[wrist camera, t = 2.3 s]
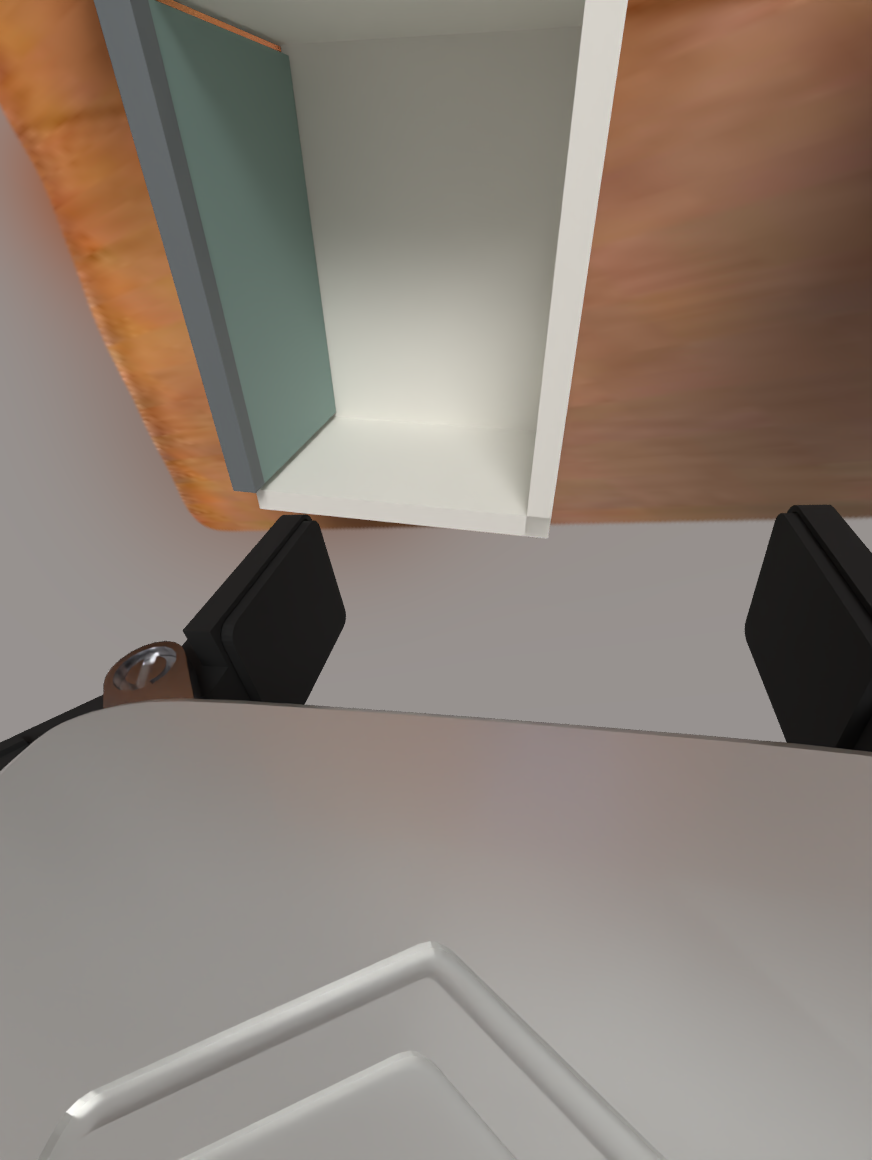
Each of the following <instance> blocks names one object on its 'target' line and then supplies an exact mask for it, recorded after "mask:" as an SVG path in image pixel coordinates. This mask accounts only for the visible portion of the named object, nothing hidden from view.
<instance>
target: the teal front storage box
mask: <svg viewBox="0 0 872 1160" xmlns="http://www.w3.org/2000/svg"><path fill="white" fill-rule="evenodd" d="M174 1H176V2H178V3H181V4H183V5H185V6H188V7H190V8H192V9H195V10H197V11H199V12H201V13H204V14H206V15H208V16H211V17H213V18H215V19H218V20H220V21H222V22H225V23H227V24H229V25H232V26H234V27H236V28H239V29H241V30H243V31H245V32H248V33H250V34H252V35H255V36H257V37H259V38H262V39H264V40H266V41H269V42H271V43H273V44H276V45H278V46H280V47H281V52H282V53H284V54H286V55H289V61H290V69H291V76H292V84H293V91H294V99H295V106H296V114H297V121H298V129H299V136H300V144H301V151H302V159H303V167H304V174H305V182H306V189H307V197H308V204H309V212H310V219H311V227H312V234H313V242H314V249H315V257H316V264H317V272H318V279H319V287H320V294H321V302H322V309H323V317H324V324H325V332H326V339H327V347H328V354H329V362H330V369H331V377H332V385H333V392H334V400H335V407H336V413H335V414H334V415H333V416H332V417H331V418H330V419H329V420H328V421H327V422H326V423H325V424H324V425H323V426H322V427H321V428H320V429H319V430H318V431H317V432H316V433H315V434H314V435H313V436H312V437H311V438H310V439H309V440H308V441H307V442H306V443H305V444H304V445H303V446H302V447H301V448H300V449H299V450H298V451H297V452H296V453H295V454H294V455H293V456H292V457H291V458H290V459H289V460H288V461H287V462H286V463H285V464H284V465H283V466H282V467H281V468H280V469H279V470H278V471H277V472H276V473H275V474H274V475H273V476H272V477H271V478H270V479H269V480H268V481H267V482H266V483H265V484H264V485H263V486H262V487H261V488H260V489H259V490H258V491H257V492H256V493H257V497H258V501H259V505H260V509H269V510H278V511H288V512H297V513H307V514H317V515H326V516H336V517H345V518H355V519H364V520H374V521H383V522H393V523H403V524H412V525H422V526H431V527H441V528H450V529H461V530H470V531H479V532H489V533H498V534H508V535H518V536H528V537H537V538H547V539H548V535H549V528H550V522H551V515H552V508H553V501H554V495H555V488H556V481H557V474H558V468H559V461H560V454H561V447H562V441H563V434H564V427H565V421H566V414H567V407H568V400H569V394H570V387H571V380H572V373H573V367H574V360H575V353H576V346H577V340H578V333H579V326H580V319H581V313H582V306H583V299H584V292H585V286H586V279H587V272H588V265H589V259H590V252H591V245H592V239H593V232H594V225H595V218H596V212H597V205H598V198H599V191H600V185H601V178H602V171H603V164H604V158H605V151H606V144H607V137H608V131H609V124H610V117H611V110H612V104H613V97H614V90H615V83H616V77H617V70H618V63H619V56H620V50H621V43H622V36H623V30H624V23H625V16H626V9H627V3H628V0H174Z"/></svg>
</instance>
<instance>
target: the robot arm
mask: <svg viewBox="0 0 872 1160" xmlns="http://www.w3.org/2000/svg"><path fill="white" fill-rule="evenodd" d="M345 620H346V612H345V608H344V605H343V601H342V598H341V595H340V592H339V588H338V585H337V582H336V579H335V575H334V572H333V569H332V565H331V562H330V559H329V556H328V552H327V549H326V546H325V542H324V539H323V536H322V533H321V529H320V526H319V524H318V523H317V522H316V521H312V519H311V518H310V516H308V515H282V516H281V517H280V518H279V519H278V520H277V521H276V523H275V524H274V525H273V526H272V527H271V528H270V530H269V531H268V532H267V533H266V534H265V535H264V537H263V538H262V539H261V540H260V541H259V543H258V544H257V545H256V546H255V547H254V548H253V549H252V550H251V552H250V553H249V554H248V555H247V556H246V557H245V559H244V560H243V561H242V562H241V563H240V564H239V566H238V567H237V568H236V569H235V570H234V572H233V573H232V574H231V575H230V576H229V577H228V578H227V580H226V581H225V582H224V583H223V584H222V585H221V587H220V588H219V589H218V590H217V591H216V592H215V594H214V595H213V596H212V597H211V598H210V599H209V600H208V602H207V603H206V604H205V605H204V606H203V607H202V609H201V610H200V611H199V612H198V613H197V614H196V616H195V617H194V618H193V619H192V620H191V621H190V623H189V624H188V625H187V626H186V627H185V628H184V629H183V632H184V634H185V636H186V637H187V641H186V642H185V643H184V644H183V645H182V646H181V645H179V644H178V643H176V642H171V641H162V642H154V643H151V644H148V645H144V646H142V647H140V648H138V649H136V650H134V651H131V652H130V653H128V654H127V655H126V656H124V657H123V658H121V659H120V660H119V661H118V662H117V663H116V664H115V665H114V666H113V667H112V668H111V669H110V671H109V672H108V673H107V675H106V677H105V680H104V685H103V695H102V696H99V697H97V698H95V699H93V700H91V701H89V702H86V703H85V704H82V705H80V706H78V707H76V708H74V709H72V710H69V711H67V712H65V713H63V714H61V715H58V716H56V717H54V718H52V719H50V720H48V721H46V722H43V723H41V724H39V725H37V726H35V727H33V728H31V729H28V730H26V731H24V732H22V733H20V734H18V735H15V736H13V737H12V738H10V739H7V740H5V741H2V742H0V1160H872V553H871V552H870V551H869V549H868V548H867V547H866V546H865V544H864V543H863V542H862V541H861V540H860V538H859V537H858V536H857V535H856V534H855V533H854V531H853V530H852V529H851V528H850V526H849V525H848V524H847V523H846V522H845V520H844V519H843V518H842V517H841V516H840V514H839V513H838V512H837V511H836V510H835V508H834V507H832V506H831V505H794V506H792V507H791V508H790V509H789V510H788V512H787V513H780V514H779V515H778V516H777V518H776V520H775V523H774V527H773V530H772V534H771V537H770V540H769V544H768V547H767V551H766V554H765V557H764V561H763V564H762V568H761V571H760V575H759V578H758V581H757V585H756V588H755V592H754V595H753V598H752V602H751V605H750V609H749V612H748V616H747V619H746V623H745V636H746V641H747V643H748V646H749V648H750V651H751V653H752V656H753V658H754V661H755V663H756V666H757V668H758V671H759V673H760V676H761V679H762V681H763V684H764V686H765V689H766V691H767V694H768V696H769V699H770V701H771V704H772V706H773V709H774V711H775V714H776V716H777V719H778V722H779V724H780V727H781V729H782V732H783V734H784V737H785V739H786V742H787V743H784V742H771V741H758V740H748V739H738V738H726V737H716V736H703V735H691V734H679V733H667V732H654V731H642V730H630V729H617V728H605V727H593V726H581V725H569V724H556V723H544V722H543V723H542V722H531V721H518V720H505V719H492V718H479V717H466V716H453V715H439V714H426V713H413V712H399V711H385V710H371V709H356V708H343V707H329V706H315V705H304V704H305V702H306V700H307V699H308V697H309V695H310V693H311V691H312V688H313V686H314V684H315V683H316V681H317V679H318V676H319V675H320V673H321V671H322V669H323V667H324V665H325V663H326V661H327V659H328V657H329V655H330V653H331V651H332V649H333V647H334V645H335V643H336V641H337V639H338V637H339V635H340V633H341V631H342V629H343V627H344V624H345Z"/></svg>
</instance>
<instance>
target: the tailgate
mask: <svg viewBox="0 0 872 1160" xmlns="http://www.w3.org/2000/svg"><path fill="white" fill-rule="evenodd" d="M94 3H95V7H96V10H97V14H98V17H99V21H100V24H101V28H102V31H103V35H104V38H105V42H106V45H107V49H108V52H109V56H110V59H111V63H112V66H113V70H114V73H115V77H116V80H117V84H118V87H119V91H120V94H121V98H122V101H123V105H124V108H125V112H126V115H127V119H128V122H129V126H130V129H131V133H132V136H133V140H134V143H135V147H136V150H137V154H138V157H139V161H140V164H141V168H142V171H143V175H144V178H145V182H146V185H147V189H148V192H149V196H150V199H151V203H152V206H153V210H154V213H155V217H156V220H157V224H158V227H159V231H160V234H161V238H162V241H163V245H164V248H165V252H166V255H167V259H168V262H169V266H170V269H171V273H172V276H173V280H174V283H175V287H176V290H177V294H178V297H179V301H180V304H181V308H182V311H183V315H184V318H185V322H186V325H187V329H188V332H189V336H190V339H191V343H192V346H193V350H194V353H195V357H196V360H197V364H198V367H199V371H200V374H201V378H202V381H203V385H204V388H205V392H206V396H207V399H208V403H209V406H210V410H211V413H212V417H213V420H214V424H215V427H216V431H217V434H218V438H219V441H220V445H221V448H222V452H223V455H224V459H225V462H226V466H227V469H228V473H229V476H230V480H231V483H232V487H233V490H234V491H242V492H252V493H256V492H257V491H258V490H259V489H260V488H261V487H262V486H263V485H264V484H265V483H266V482H267V481H268V480H269V479H270V478H271V477H272V476H273V475H274V474H275V473H276V472H277V471H278V470H279V469H280V468H281V467H282V466H283V465H284V464H285V463H286V462H287V461H288V460H289V459H290V458H291V457H292V456H293V455H294V454H295V453H296V452H297V451H298V450H299V449H300V448H301V447H302V446H303V445H304V444H305V443H306V442H307V441H308V440H309V439H310V438H311V437H312V436H313V435H314V434H315V433H316V432H317V431H318V430H319V429H320V428H321V427H322V426H323V425H324V424H325V423H326V422H327V421H328V420H329V419H330V418H331V417H332V416H333V415H334V414H335V413H336V407H335V400H334V392H333V385H332V377H331V369H330V362H329V354H328V347H327V339H326V332H325V324H324V317H323V309H322V302H321V294H320V287H319V279H318V272H317V264H316V257H315V249H314V242H313V234H312V227H311V219H310V212H309V204H308V197H307V189H306V182H305V174H304V167H303V159H302V151H301V144H300V136H299V129H298V121H297V114H296V106H295V99H294V91H293V84H292V76H291V69H290V61H289V55H286V54H284V53H281V52H279V51H277V50H274V49H272V48H269V47H267V46H264V45H262V44H260V43H257V42H255V41H252V40H250V39H248V38H245V37H243V36H240V35H238V34H235V33H233V32H231V31H228V30H226V29H223V28H221V27H218V26H216V25H214V24H211V23H209V22H206V21H204V20H202V19H199V18H197V17H194V16H192V15H189V14H187V13H185V12H182V11H180V10H177V9H175V8H173V7H170V6H168V5H165V4H163V3H160V2H158V1H156V0H94Z"/></svg>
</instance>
